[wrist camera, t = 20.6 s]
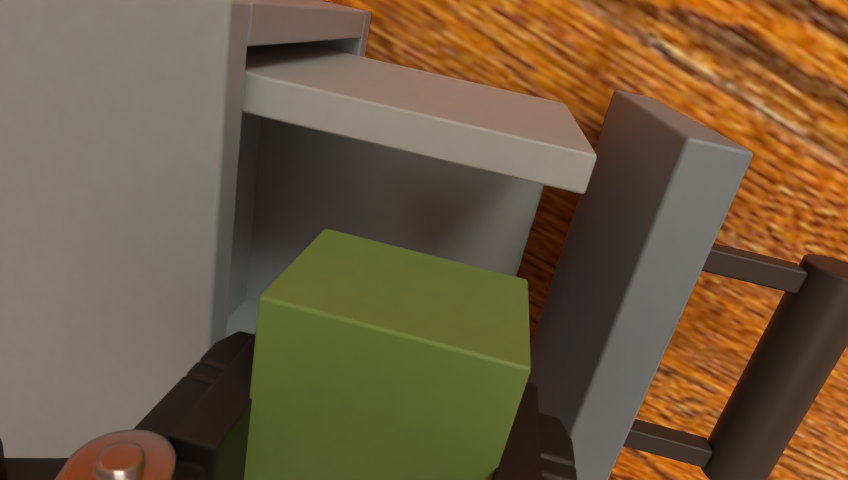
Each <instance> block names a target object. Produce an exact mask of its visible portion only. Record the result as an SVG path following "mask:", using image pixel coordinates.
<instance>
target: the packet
mask: <svg viewBox="0 0 848 480" xmlns="http://www.w3.org/2000/svg"><path fill="white" fill-rule="evenodd" d="M530 371H531V357H530V328H529V299H528V281H527V280H526V279H522V278H518V277H514V276H510V275H507V274H503V273H499V272H495V271H491V270H487V269H483V268H479V267H475V266H471V265H467V264H463V263H460V262H456V261H452V260H448V259H444V258H440V257H436V256H432V255H428V254H424V253H420V252H416V251H413V250H409V249H405V248H401V247H397V246H393V245H389V244H385V243H381V242H377V241H373V240H369V239H366V238H362V237H358V236H354V235H350V234H346V233H342V232H338V231H334V230H330V229H324V230H323V231H322V232H321V233H320V234H319V235H318V236H317V237H316V238H315V239H314V240H313V242H312V243H311V244H310V245H309V246H308V247H307V248H306V249H305V250H304V251H303V252H302V253H301V254H300V255H299V256H298V257H297V258H296V259H295V260H294V261H293V262H292V263H291V264H290V265H289V266H288V267H287V269H286V270H285V271H284V272H283V273H282V274H281V275H280V276H279V277H278V278H277V279H276V280H275V281H274V282H273V283H272V284H271V285H270V286H269V287H268V288H267V289H266V290H265V291H264V292H263V293H262V294H261V296H260V297H259V306H258V316H257V326H256V336H255V347H254V357H253V367H252V377H251V387H250V397H249V398H250V399H252V404H251V414H250V424H249V434H248V444H247V454H246V463H245V473H244V480H492V477H493V474H494V471H495V468H497V467H498V466H499V463H500V460H501V457H502V454H503V451H504V448H505V445H506V442H507V439H508V436H509V434H510V431H511V428H512V425H513V422H514V419H515V416H516V413H517V410H518V407H519V404H520V401H521V398H522V395H523V392H524V389H525V386H526V383H527V380H528V377H529V374H530Z"/></svg>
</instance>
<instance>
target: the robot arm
mask: <svg viewBox="0 0 848 480" xmlns="http://www.w3.org/2000/svg"><path fill="white" fill-rule="evenodd" d="M255 336H256V333H255V334H254V335H253V334H250V333H246V332H242V331H238V332H236V333H234V334H232V335H230V336H228V337H226V338H224V339H222V340H220V341H218V342H216V343H215V344H214V345H213V346H212V347H211V348H210V349H209V350H208V351H207V352H206V353H205V354H204V355H203V356H202V358H201V359H200V362H197V363H196V364H195V365H194V366H193V367H192V368H191V369H190V370H189V371H188V372H187V375H186V377H185V376H183V377H182V378H181V380H180V381H179V382H178V383H177V384H176V385H175V386H174V387H173V388H172V389H171V390H170V391H169V392H168V393H167V394H166V395H165V396H164V397H163V398H162V399H161V400H160V401H159V403H158V404H157V405H156V406H155V407H154V408H153V409H152V410H151V411H150V412H149V413H148V414H147V415H146V416H145V417H144V418H143V419H142V420H141V421H140V422H139V423H138V424H137V426H136V427H135V428H134V429H130V430H120V431H115V432H111V433H108V434H104V435H102V436H99V437H97V438H95V439H93V440H91V441H89V442H87V443H86V444H84V445H83V446H81V447H80V448H79V449H78V450H76V451H75V452H74V453H73V454H72V455H71V457H69V458H4V450H3V443H2V441H1V438H0V480H244V473H245V463H246V454H247V444H248V434H249V424H250V414H251V404H252V399H250V398H249V397H250V387H251V377H252V367H253V357H254V347H255ZM574 466H575V458H574V450H573V443H572V439H571V438H570V436H569V434H568V433H567V431H566V429H565V428H564V426H563V424H562V423H561V421H560V419H559V418H557V417H553V416H550V415H546V414H542V413H539V412H538V393H537V385H536V384H534V383H530V382H527V383H526V386H525V389H524V392H523V395H522V398H521V401H520V404H519V407H518V410H517V413H516V416H515V419H514V422H513V425H512V428H511V431H510V434H509V436H508V439H507V442H506V445H505V448H504V451H503V454H502V457H501V460H500V463H499V466H498V467H497V468H495V471H494V474H493V477H492V480H577V473H576V468H575V467H574Z"/></svg>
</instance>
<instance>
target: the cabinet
mask: <svg viewBox="0 0 848 480" xmlns="http://www.w3.org/2000/svg"><path fill="white" fill-rule="evenodd" d="M370 21H371V12H370V11H365V10H361V9H356V8H352V7H348V6H343V5H339V4H334V3H330V2H325V1H321V0H0V438H1V441H2V443H3V450H4V458H69V457H71V455H72V454H73V453H74V452H75V451H76V450H78V449H79V448H80V447H81V446H83V445H84V444H86V443H87V442H89V441H91V440H93V439H95V438H97V437H99V436H102V435H104V434H108V433H111V432H115V431H120V430H130V429H134V428H135V427H136V426H137V424H138V423H139V422H140V421H141V420H142V419H143V418H144V417H145V416H146V415H147V414H148V413H149V412H150V411H151V410H152V409H153V408H154V407H155V406H156V405H157V404H158V403H159V401H160V400H161V399H162V398H163V397H164V396H165V395H166V394H167V393H168V392H169V391H170V390H171V389H172V388H173V387H174V386H175V385H176V384H177V383H178V382H179V381H180V380H181V378H182V377H183V376H185V377H186V375H187V372H188V371H189V370H190V369H191V368H192V367H193V366H194V365H195V364H196V363H197V362H200V359H201V358H202V356H203V355H204V354H205V353H206V352H207V351H208V350H209V349H210V348H211V347H212V346H213V345H214V344H215V343H216V342H218V341H220V340H222V339H224V338H226V325H227V312H228V298H229V284H230V270H231V257H232V243H233V229H234V215H235V201H236V188H237V174H238V160H239V146H240V133H241V119H242V105H243V91H244V78H245V64H246V50H247V46H259V45H272V44H285V43H297V42H300V43H305V44H309V45H314V46H318V47H322V48H327V49H331V50H335V51H340V52H344V53H348V54H353V55H357V56H361V57H365V54H366V47H367V40H368V34H369V27H370Z"/></svg>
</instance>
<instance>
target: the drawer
mask: <svg viewBox="0 0 848 480" xmlns="http://www.w3.org/2000/svg"><path fill="white" fill-rule="evenodd" d="M752 156H753V152H751V151H750V150H748V149H746V148H745V147H743V146H741V145H739V144H737V143H735V142H733V141H732V140H730V139H728V138H726V137H724V136H722V135H720V134H719V133H717V132H715V131H713V130H711V129H709V128H707V127H706V126H704V125H702V124H700V123H698V122H696V121H694V120H693V119H691V118H689V117H687V116H685V115H683V114H681V113H680V112H678V111H676V110H674V109H672V108H670V107H668V106H667V105H665V104H663V103H661V102H659V101H657V100H655V99H653V98H652V97H648V96H643V95H639V94H634V93H630V92H626V91H621V90H615V91H614V93H613V96H612V99H611V102H610V105H609V108H608V111H607V114H606V117H605V120H604V123H603V127H602V130H601V133H600V136H599V139H598V142H597V145H596V148H595V151H594V150H593V148H592V147H591V145H590V144H589V142H588V140H587V139H586V137H585V135H584V134H583V132H582V130H581V129H580V127H579V125H578V124H577V122H576V121H575V119H574V117H573V116H572V114H571V112H570V111H569V109H568V108H567V106H566V105H565V104H564V103H561V102H557V101H553V100H548V99H544V98H540V97H535V96H531V95H527V94H522V93H518V92H513V91H509V90H505V89H500V88H496V87H492V86H487V85H483V84H479V83H474V82H470V81H466V80H461V79H457V78H453V77H448V76H444V75H440V74H435V73H431V72H427V71H422V70H418V69H414V68H409V67H405V66H400V65H396V64H392V63H387V62H383V61H379V60H374V59H370V58H366V57H361V56H357V55H353V54H348V53H344V52H340V51H335V50H331V49H327V48H322V47H318V46H314V45H309V44H305V43H300V42H297V43H285V44H272V45H259V46H247V50H246V64H245V78H244V91H243V105H242V119H241V133H240V146H239V160H238V174H237V188H236V201H235V215H234V229H233V243H232V257H231V270H230V284H229V298H228V312H227V325H226V337H228V336H230V335H232V334H234V333H236V332H238V331H242V332H246V333H250V334H253V335H254V334H255V333H256V326H257V316H258V306H259V297H260V296H261V294H262V293H263V292H264V291H265V290H266V289H267V288H268V287H269V286H270V285H271V284H272V283H273V282H274V281H275V280H276V279H277V278H278V277H279V276H280V275H281V274H282V273H283V272H284V271H285V270H286V269H287V267H288V266H289V265H290V264H291V263H292V262H293V261H294V260H295V259H296V258H297V257H298V256H299V255H300V254H301V253H302V252H303V251H304V250H305V249H306V248H307V247H308V246H309V245H310V244H311V243H312V242H313V240H314V239H315V238H316V237H317V236H318V235H319V234H320V233H321V232H322V231H323V230H324V229H330V230H334V231H338V232H342V233H346V234H350V235H354V236H358V237H362V238H366V239H369V240H373V241H377V242H381V243H385V244H389V245H393V246H397V247H401V248H405V249H409V250H413V251H416V252H420V253H424V254H428V255H432V256H436V257H440V258H444V259H448V260H452V261H456V262H460V263H463V264H467V265H471V266H475V267H479V268H483V269H487V270H491V271H495V272H499V273H503V274H507V275H510V276H514V277H517V274H518V271H519V268H520V264H521V261H522V258H523V254H524V251H525V248H526V244H527V241H528V238H529V234H530V231H531V228H532V225H533V221H534V218H535V215H536V211H537V208H538V205H539V201H540V198H541V195H542V191H543V188H544V185H546V186H550V187H554V188H559V189H563V190H567V191H571V192H575V193H579V194H580V196H579V199H578V202H577V205H576V208H575V211H574V214H573V217H572V220H571V223H570V226H569V229H568V232H567V235H566V238H565V241H564V244H563V247H562V250H561V253H560V256H559V259H558V262H557V265H556V269H555V272H554V275H553V278H552V281H551V284H550V287H549V290H548V293H547V296H546V299H545V302H544V305H543V308H542V311H541V314H540V317H539V320H538V323H537V326H536V329H535V332H534V335H533V338H532V341H531V344H530V357H531V371H530V374H529V377H528V380H527V382H530V383H534V384H536V385H537V393H538V412H539V413H542V414H546V415H550V416H553V417H557V418H559V419H560V421H561V423H562V424H563V426H564V428H565V429H566V431H567V433H568V434H569V436H570V438H571V439H572V443H573V450H574V458H575V466H574V467H575V468H576V473H577V480H608V478H609V476H610V474H611V472H612V469H613V467H614V465H615V463H616V460H617V458H618V456H619V454H620V451H621V449H622V447H623V446H626V447H630V448H633V449H637V450H641V451H644V452H648V453H652V454H655V455H659V456H663V457H667V458H670V459H674V460H678V461H681V462H685V463H689V464H692V465H696V466H700V467H701V469H702V471H703V472H704V473H705V475H706V476H707V477H708V478H709V479H710V480H767V478H768V477H769V475H770V473H771V472H772V470H773V468H774V466H775V465H776V463H777V461H778V460H779V458H780V456H781V455H782V453H783V451H784V450H785V448H786V446H787V445H788V443H789V441H790V440H791V438H792V436H793V435H794V433H795V431H796V430H797V428H798V426H799V425H800V423H801V421H802V420H803V418H804V416H805V415H806V413H807V411H808V410H809V408H810V406H811V405H812V403H813V401H814V400H815V398H816V396H817V395H818V393H819V391H820V390H821V388H822V386H823V385H824V383H825V381H826V380H827V378H828V376H829V375H830V373H831V371H832V370H833V368H834V366H835V365H836V363H837V361H838V360H839V358H840V356H841V355H842V353H843V351H844V350H845V348H846V346H847V345H848V263H846V262H843V261H840V260H837V259H834V258H830V257H826V256H822V255H815V254H807V255H805V256H804V257H803V259H802V260H801V262H800V264H799V265H798V264H797V263H793V262H789V261H785V260H781V259H777V258H773V257H769V256H765V255H760V254H756V253H752V252H748V251H744V250H740V249H736V248H732V247H728V246H723V245H719V244H715V243H714V242H715V239H716V237H717V235H718V233H719V230H720V228H721V226H722V224H723V221H724V219H725V217H726V215H727V213H728V210H729V208H730V206H731V204H732V201H733V199H734V197H735V195H736V192H737V190H738V188H739V186H740V183H741V181H742V179H743V177H744V175H745V172H746V170H747V168H748V166H749V163H750V161H751V159H752ZM701 271H705V272H709V273H713V274H717V275H721V276H725V277H730V278H734V279H738V280H742V281H746V282H750V283H754V284H758V285H762V286H766V287H770V288H774V289H778V290H782V291H785V293H784V295H783V297H782V299H781V301H780V302H779V304H778V306H777V308H776V310H775V312H774V314H773V316H772V318H771V320H770V322H769V324H768V325H767V327H766V329H765V331H764V333H763V335H762V337H761V339H760V341H759V343H758V345H757V346H756V348H755V350H754V352H753V354H752V356H751V358H750V360H749V362H748V364H747V366H746V367H745V369H744V371H743V373H742V375H741V377H740V379H739V381H738V383H737V385H736V387H735V388H734V390H733V392H732V394H731V396H730V398H729V400H728V402H727V404H726V406H725V408H724V410H723V411H722V413H721V415H720V417H719V419H718V421H717V423H716V425H715V427H714V429H713V431H712V432H711V434H710V436H709V438H708V440H707V439H706V438H704V437H701V436H697V435H693V434H690V433H686V432H682V431H678V430H675V429H671V428H667V427H663V426H660V425H656V424H652V423H649V422H645V421H641V420H637V419H635V418H636V416H637V414H638V411H639V409H640V407H641V405H642V402H643V400H644V398H645V396H646V393H647V391H648V389H649V387H650V384H651V382H652V380H653V378H654V376H655V373H656V371H657V369H658V367H659V364H660V362H661V360H662V358H663V355H664V353H665V351H666V349H667V347H668V344H669V342H670V340H671V338H672V335H673V333H674V331H675V329H676V326H677V324H678V322H679V320H680V317H681V315H682V313H683V311H684V309H685V306H686V304H687V302H688V300H689V297H690V295H691V293H692V291H693V288H694V286H695V284H696V282H697V280H698V277H699V275H700V273H701Z"/></svg>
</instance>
